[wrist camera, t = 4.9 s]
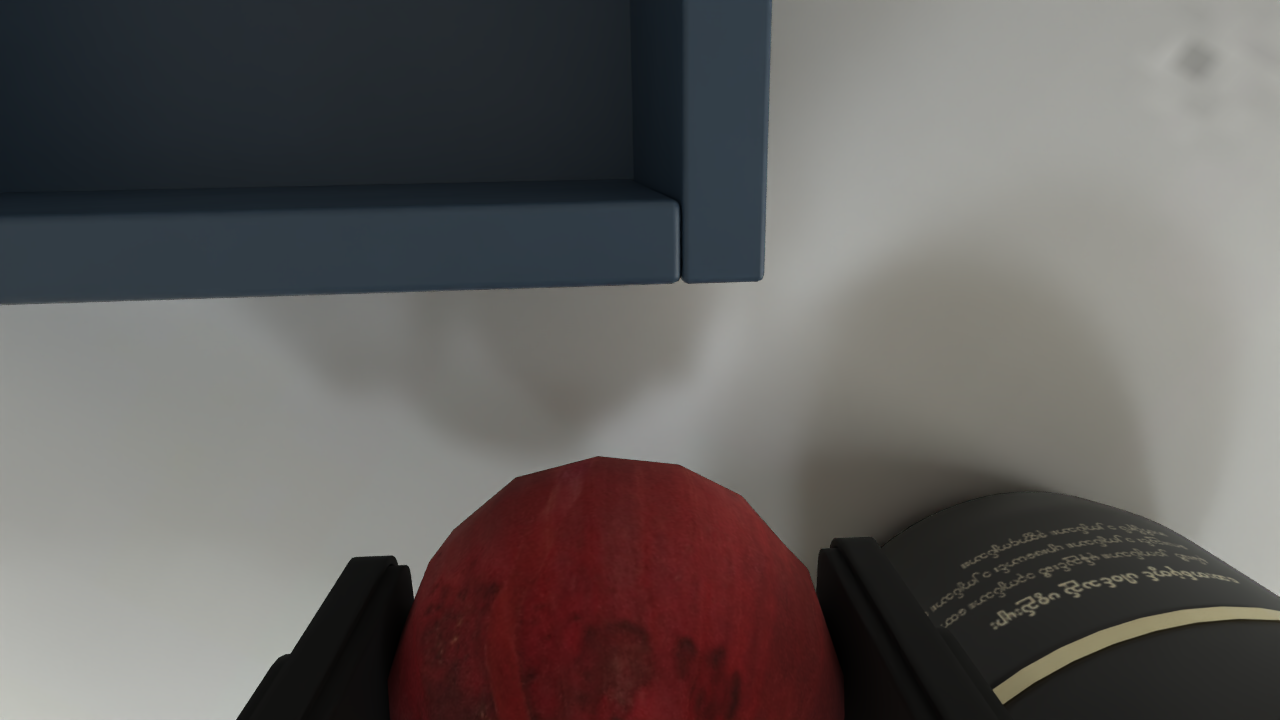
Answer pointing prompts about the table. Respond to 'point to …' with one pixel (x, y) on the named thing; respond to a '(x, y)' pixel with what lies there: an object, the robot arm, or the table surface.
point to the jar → (1093, 611)
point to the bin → (378, 146)
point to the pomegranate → (615, 608)
